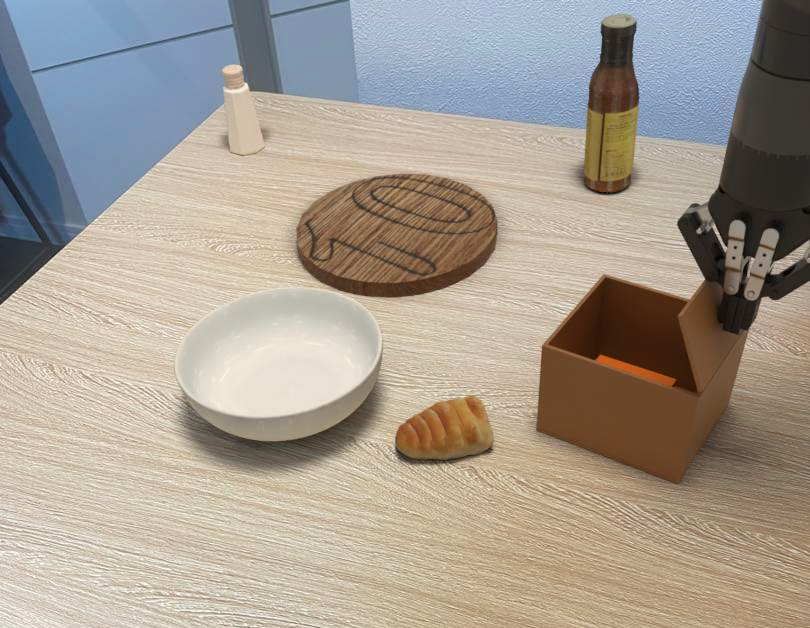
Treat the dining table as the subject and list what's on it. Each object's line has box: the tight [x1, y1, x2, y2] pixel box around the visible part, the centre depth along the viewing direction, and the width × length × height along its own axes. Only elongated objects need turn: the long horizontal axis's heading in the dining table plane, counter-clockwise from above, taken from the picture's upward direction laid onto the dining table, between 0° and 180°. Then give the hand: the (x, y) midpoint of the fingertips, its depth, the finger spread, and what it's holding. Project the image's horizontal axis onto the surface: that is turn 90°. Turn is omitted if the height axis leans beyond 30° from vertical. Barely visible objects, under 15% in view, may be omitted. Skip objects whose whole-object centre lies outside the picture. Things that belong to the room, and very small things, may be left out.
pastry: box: [394, 394, 495, 461], centre depth 89 cm, size 9×7×4 cm
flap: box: [678, 250, 749, 392], centre depth 78 cm, size 7×13×1 cm
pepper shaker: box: [221, 64, 266, 156], centre depth 129 cm, size 5×5×11 cm
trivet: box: [295, 173, 498, 298], centre depth 114 cm, size 25×25×2 cm
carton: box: [535, 273, 750, 485], centre depth 87 cm, size 15×13×10 cm
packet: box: [595, 355, 676, 387], centre depth 89 cm, size 8×5×4 cm, turn 57°
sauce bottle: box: [583, 13, 640, 194], centre depth 113 cm, size 7×6×20 cm
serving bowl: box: [173, 286, 384, 442], centre depth 93 cm, size 21×21×7 cm
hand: (734, 327), depth 78 cm, fingers closed
